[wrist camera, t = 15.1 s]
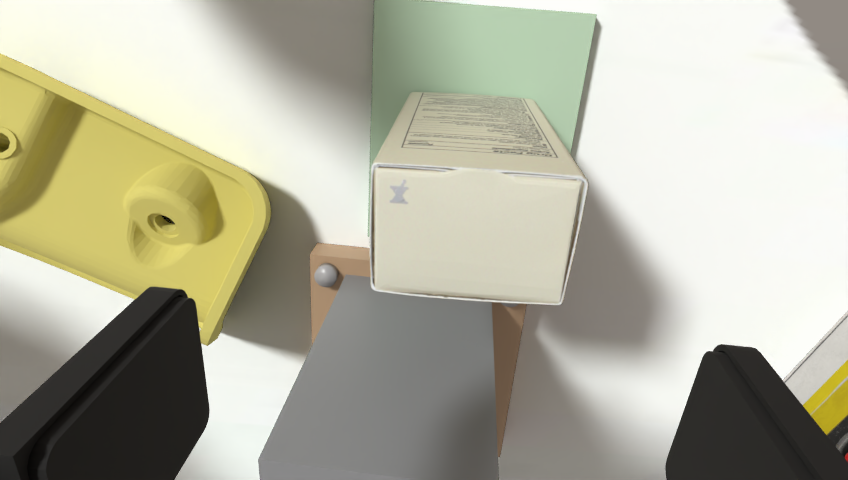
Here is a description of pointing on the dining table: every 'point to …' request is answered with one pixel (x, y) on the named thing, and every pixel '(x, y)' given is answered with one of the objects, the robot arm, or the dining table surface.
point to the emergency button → (826, 384)
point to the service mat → (477, 59)
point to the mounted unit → (394, 382)
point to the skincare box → (474, 202)
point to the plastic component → (122, 197)
